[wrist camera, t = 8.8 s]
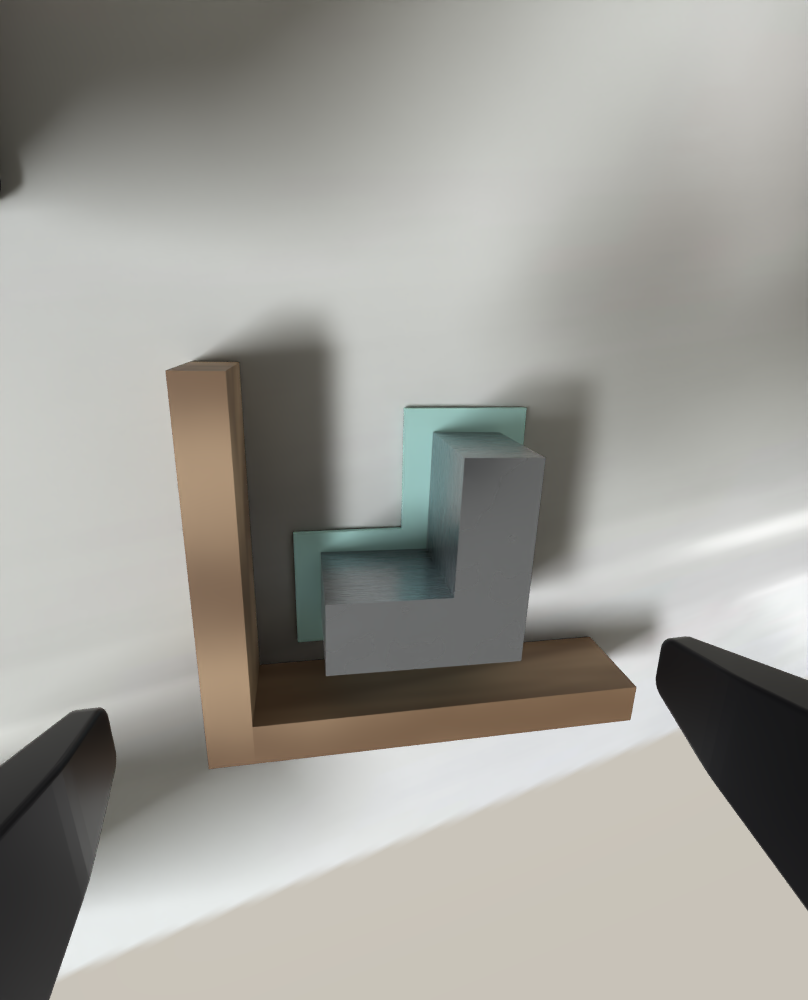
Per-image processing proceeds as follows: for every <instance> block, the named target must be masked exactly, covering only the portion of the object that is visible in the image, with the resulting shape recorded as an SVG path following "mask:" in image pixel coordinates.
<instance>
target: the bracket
mask: <svg viewBox="0 0 808 1000" xmlns="http://www.w3.org/2000/svg"><path fill="white" fill-rule="evenodd" d="M545 460H546V458H545V457H544V456H542V455H540V454H538V453H536V452H534V451H533V450H531V449H529V448H527V447H525V446H524V445H522V444H520V443H518V442H516V441H514V440H513V439H511V438H509V437H507V436H505V435H503V434H502V433H500V432H433V437H432V455H431V473H430V491H429V509H428V527H427V545H426V548H424V549H396V550H368V551H341V552H321V618H322V631H323V644H324V658H325V671H326V676H334V675H347V674H360V673H373V672H386V671H398V670H411V669H424V668H437V667H450V666H463V665H476V664H489V663H502V662H514V661H521V658H522V650H523V642H524V633H525V625H526V617H527V609H528V600H529V592H530V584H531V576H532V567H533V559H534V551H535V542H536V534H537V526H538V518H539V509H540V501H541V493H542V485H543V476H544V468H545Z"/></svg>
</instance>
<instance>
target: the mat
mask: <svg viewBox="0 0 808 1000" xmlns="http://www.w3.org/2000/svg"><path fill="white" fill-rule="evenodd" d="M526 409H527V408H525V407H486V408H404V430H403V473H402V516H401V527H395V528H372V529H349V530H326V531H302V532H293V539H294V563H295V587H296V611H297V634H298V642H308V641H321V640H323V631H322V618H321V552H341V551H368V550H396V549H424V548H426V545H427V527H428V509H429V491H430V473H431V455H432V437H433V432H500V433H502V434H503V435H505V436H507V437H509V438H511V439H513V440H514V441H516V442H518V443H520V444H522V445H523V442H524V431H525V420H526Z"/></svg>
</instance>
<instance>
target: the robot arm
mask: <svg viewBox="0 0 808 1000" xmlns="http://www.w3.org/2000/svg"><path fill="white" fill-rule="evenodd" d="M0 190H1V182H0ZM656 685H657V689H658V692H659V694H660V696H661V697H662V699H663V701H664V702H665V704H666V706H667V707H668V709H669V711H670V712H671V714H672V716H673V717H674V719H675V721H676V722H677V724H678V726H679V727H680V729H681V730H682V732H683V734H684V735H685V737H686V739H687V740H688V742H689V744H690V745H691V747H692V749H693V750H694V752H695V754H696V755H697V757H698V758H699V760H700V762H701V763H702V765H703V766H704V768H705V770H706V771H707V773H708V774H709V776H710V777H711V779H712V780H713V781H714V783H715V784H716V786H717V787H718V788H719V790H720V791H721V792H722V794H723V795H724V797H725V798H726V799H727V801H728V802H729V804H730V805H731V806H732V808H733V809H734V810H735V812H736V813H737V815H738V816H739V817H740V819H741V820H742V821H743V823H744V824H745V825H746V827H747V828H748V830H749V831H750V832H751V834H752V835H753V836H754V838H755V839H756V841H757V842H758V843H759V845H760V846H761V847H762V849H763V850H764V851H765V853H766V854H767V856H768V857H769V858H770V860H771V861H772V862H773V864H774V865H775V866H776V868H777V869H778V871H779V872H780V873H781V875H782V876H783V877H784V879H785V880H786V882H787V883H788V884H789V886H790V887H791V888H792V890H793V891H794V893H795V894H796V895H797V897H798V898H799V899H800V901H801V902H802V903H803V905H804V906H805V908H806V909H807V910H808V680H806V679H803V678H800V677H798V676H795V675H792V674H790V673H787V672H784V671H781V670H779V669H776V668H773V667H770V666H768V665H765V664H762V663H760V662H757V661H754V660H751V659H749V658H746V657H743V656H741V655H738V654H735V653H732V652H730V651H727V650H724V649H722V648H719V647H716V646H713V645H711V644H708V643H705V642H702V641H700V640H697V639H694V638H692V637H677V638H669V639H667V640H665V641H664V642H663V644H662V646H661V651H660V657H659V662H658V668H657V674H656ZM115 767H116V751H115V746H114V742H113V737H112V732H111V728H110V723H109V718H108V715H107V713H106V711H105V710H104V709H103V708H100V707H98V708H90V709H81V710H75V711H72V712H70V713H69V714H67V715H66V716H65V717H63V718H62V719H61V720H60V721H58V722H57V723H56V724H54V725H53V726H52V727H50V728H49V729H48V730H46V731H45V732H44V733H42V734H41V735H40V736H39V737H37V738H36V739H35V740H33V741H32V742H31V743H29V744H28V745H27V746H25V747H24V748H23V749H22V750H20V751H19V752H18V753H16V754H15V755H14V756H12V757H11V758H10V759H8V760H7V761H6V762H5V763H3V764H2V765H1V766H0V1000H49V999H50V996H51V993H52V990H53V987H54V984H55V981H56V978H57V975H58V972H59V969H60V967H61V964H62V961H63V958H64V955H65V952H66V949H67V946H68V943H69V940H70V937H71V934H72V931H73V928H74V926H75V923H76V920H77V917H78V914H79V911H80V908H81V905H82V902H83V899H84V896H85V893H86V890H87V886H88V883H89V880H90V876H91V872H92V868H93V864H94V860H95V856H96V851H97V847H98V843H99V838H100V834H101V830H102V825H103V821H104V816H105V812H106V808H107V803H108V799H109V795H110V790H111V786H112V781H113V777H114V773H115Z"/></svg>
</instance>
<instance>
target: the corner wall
mask: <svg viewBox="0 0 808 1000" xmlns="http://www.w3.org/2000/svg"><path fill="white" fill-rule="evenodd" d="M166 380H167V389H168V398H169V407H170V416H171V426H172V435H173V444H174V453H175V462H176V471H177V481H178V490H179V499H180V508H181V517H182V527H183V536H184V545H185V554H186V563H187V572H188V582H189V591H190V600H191V609H192V618H193V628H194V637H195V646H196V655H197V664H198V673H199V683H200V692H201V701H202V710H203V719H204V729H205V738H206V747H207V756H208V765H209V769H214V768H223V767H231V766H240V765H249V764H257V763H266V762H274V761H283V760H291V759H300V758H309V757H317V756H326V755H334V754H343V753H351V752H360V751H369V750H377V749H386V748H394V747H403V746H412V745H420V744H429V743H437V742H446V741H454V740H463V739H472V738H480V737H489V736H497V735H506V734H514V733H523V732H532V731H540V730H549V729H557V728H566V727H574V726H583V725H592V724H600V723H609V722H617V721H626V720H630V719H631V714H632V708H633V703H634V697H635V692H636V686H635V685H634V684H633V683H632V682H631V681H630V680H629V679H628V677H627V676H626V675H625V674H624V673H623V672H622V671H621V670H620V669H619V668H618V667H617V666H616V664H615V663H614V662H613V661H612V660H611V659H610V658H609V657H608V656H607V655H606V654H605V653H604V651H603V650H602V649H601V648H600V647H599V646H598V645H597V644H596V643H595V642H594V641H593V640H592V639H591V637H581V638H569V639H558V640H546V641H534V642H523V650H522V658H521V661H514V662H502V663H489V664H476V665H463V666H450V667H437V668H424V669H411V670H398V671H386V672H373V673H360V674H347V675H334V676H326V671H325V659H323V660H311V661H299V662H288V663H276V664H264V665H260V662H259V647H258V632H257V617H256V603H255V588H254V573H253V558H252V544H251V529H250V514H249V500H248V485H247V470H246V455H245V441H244V426H243V411H242V396H241V382H240V367H239V362H188V363H185V364H182V365H180V366H177V367H174V368H171V369H169V370H166Z"/></svg>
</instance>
